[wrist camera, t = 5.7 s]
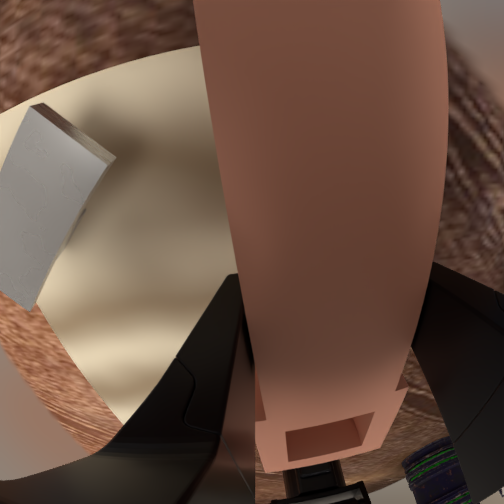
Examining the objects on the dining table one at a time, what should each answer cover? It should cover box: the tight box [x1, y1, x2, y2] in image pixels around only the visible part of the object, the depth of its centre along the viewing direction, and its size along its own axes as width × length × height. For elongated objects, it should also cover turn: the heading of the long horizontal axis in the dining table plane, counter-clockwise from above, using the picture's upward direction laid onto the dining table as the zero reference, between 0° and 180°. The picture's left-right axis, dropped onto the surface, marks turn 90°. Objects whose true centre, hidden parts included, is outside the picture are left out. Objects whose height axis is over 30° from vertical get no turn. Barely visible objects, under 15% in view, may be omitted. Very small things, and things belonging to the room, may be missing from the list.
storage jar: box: [402, 436, 480, 504], centre depth 32 cm, size 10×10×15 cm
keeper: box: [0, 102, 117, 312], centre depth 10 cm, size 3×7×4 cm, turn 137°
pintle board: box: [0, 46, 238, 425], centre depth 15 cm, size 24×18×4 cm
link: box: [193, 0, 448, 473], centre depth 8 cm, size 16×5×3 cm, turn 7°
